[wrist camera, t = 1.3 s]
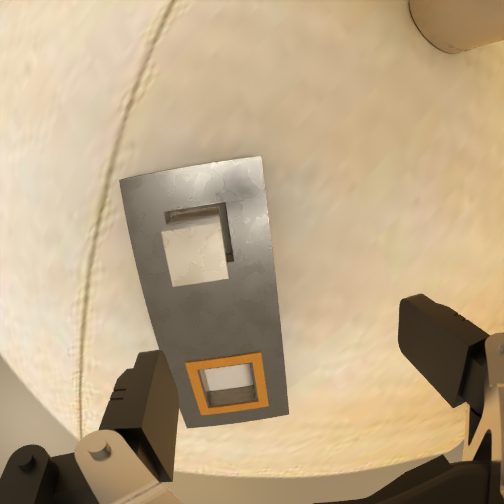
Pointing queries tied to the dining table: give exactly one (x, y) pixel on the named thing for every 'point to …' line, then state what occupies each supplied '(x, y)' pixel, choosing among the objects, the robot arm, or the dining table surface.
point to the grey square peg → (195, 247)
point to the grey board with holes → (213, 291)
